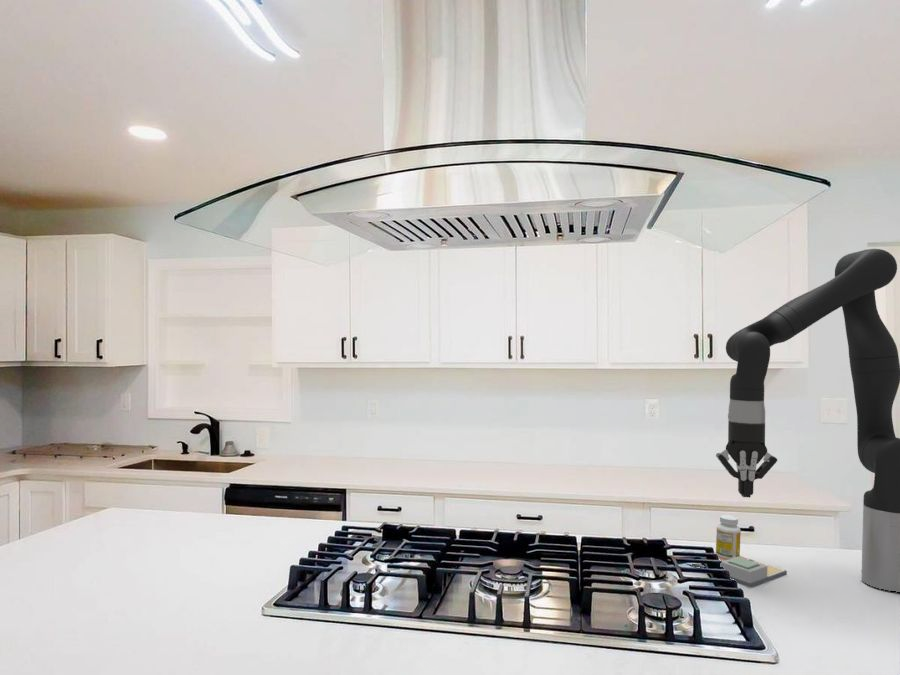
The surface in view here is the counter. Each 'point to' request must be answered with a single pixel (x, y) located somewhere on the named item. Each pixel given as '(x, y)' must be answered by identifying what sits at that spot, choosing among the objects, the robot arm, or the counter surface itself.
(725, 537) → the supplement bottle
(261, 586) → the counter surface
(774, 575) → the grey tray
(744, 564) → the button
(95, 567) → the counter surface
